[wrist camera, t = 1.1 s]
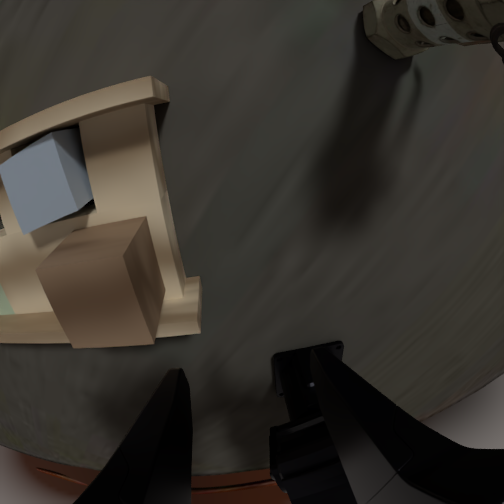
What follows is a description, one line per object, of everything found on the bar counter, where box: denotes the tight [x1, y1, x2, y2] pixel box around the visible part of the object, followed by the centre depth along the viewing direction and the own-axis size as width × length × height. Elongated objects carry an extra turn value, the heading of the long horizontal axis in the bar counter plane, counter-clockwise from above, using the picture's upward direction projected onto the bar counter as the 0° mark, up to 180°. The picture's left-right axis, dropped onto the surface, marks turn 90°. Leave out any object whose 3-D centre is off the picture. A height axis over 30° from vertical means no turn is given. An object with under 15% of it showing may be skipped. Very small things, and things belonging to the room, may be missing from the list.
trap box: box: [0, 76, 202, 343], centre depth 15 cm, size 14×22×5 cm, turn 96°
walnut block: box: [35, 216, 166, 348], centre depth 15 cm, size 5×5×5 cm
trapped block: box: [0, 128, 93, 235], centre depth 14 cm, size 4×4×4 cm
